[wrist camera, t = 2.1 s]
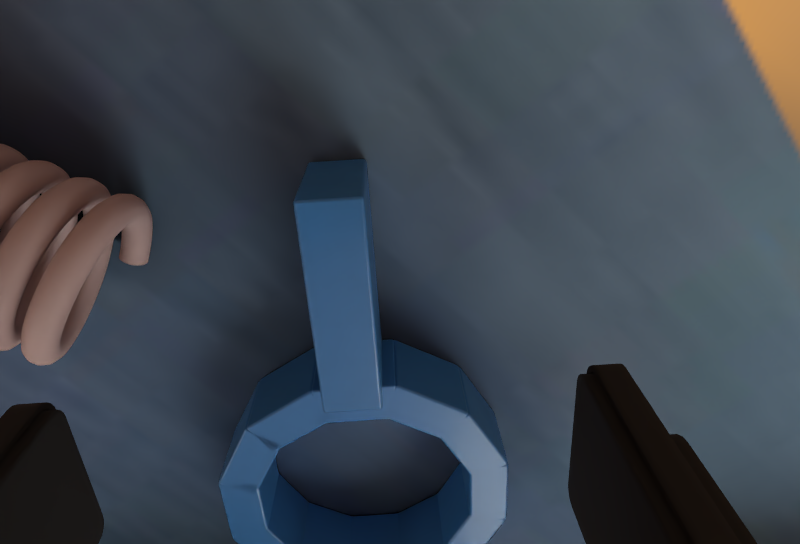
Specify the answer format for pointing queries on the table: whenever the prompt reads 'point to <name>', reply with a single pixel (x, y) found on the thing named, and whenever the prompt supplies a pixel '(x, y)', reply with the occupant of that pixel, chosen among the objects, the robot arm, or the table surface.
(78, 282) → the coil
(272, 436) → the ring
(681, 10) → the table surface
